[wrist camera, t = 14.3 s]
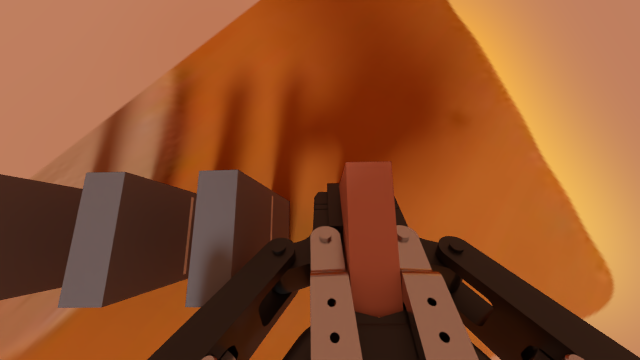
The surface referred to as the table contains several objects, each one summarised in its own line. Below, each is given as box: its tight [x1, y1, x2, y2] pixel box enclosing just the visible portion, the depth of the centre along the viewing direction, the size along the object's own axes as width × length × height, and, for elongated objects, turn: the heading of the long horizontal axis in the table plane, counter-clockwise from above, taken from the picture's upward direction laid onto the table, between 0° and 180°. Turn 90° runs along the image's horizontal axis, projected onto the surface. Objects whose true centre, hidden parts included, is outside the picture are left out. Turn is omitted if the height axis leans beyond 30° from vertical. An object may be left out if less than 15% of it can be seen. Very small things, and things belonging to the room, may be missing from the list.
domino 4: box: [339, 161, 403, 317], centre depth 13 cm, size 2×5×10 cm, turn 1°
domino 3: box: [185, 170, 290, 307], centre depth 14 cm, size 2×5×10 cm, turn 1°
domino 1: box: [0, 174, 83, 300], centre depth 14 cm, size 2×5×10 cm, turn 1°
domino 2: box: [58, 172, 197, 308], centre depth 14 cm, size 2×5×10 cm, turn 1°
